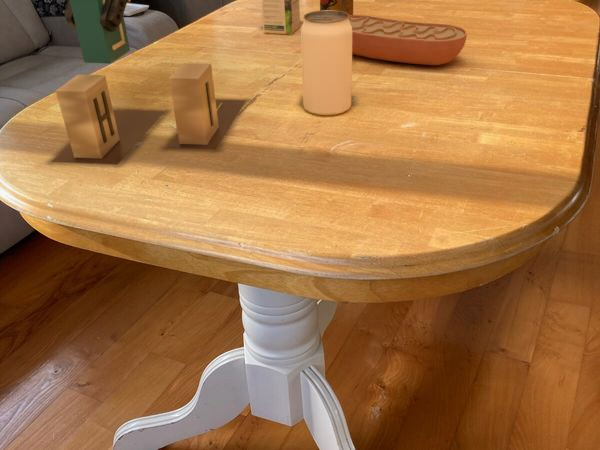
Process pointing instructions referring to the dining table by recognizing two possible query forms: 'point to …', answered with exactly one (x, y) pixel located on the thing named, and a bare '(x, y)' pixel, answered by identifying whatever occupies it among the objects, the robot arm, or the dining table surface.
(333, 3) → the condiment
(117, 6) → the robot arm
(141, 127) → the block
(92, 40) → the green alphabet block
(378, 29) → the orange elongated oval dish
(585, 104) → the dining table surface
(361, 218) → the dining table surface
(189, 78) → the slotted tan block
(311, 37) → the can
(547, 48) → the dining table surface
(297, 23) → the syrup box
